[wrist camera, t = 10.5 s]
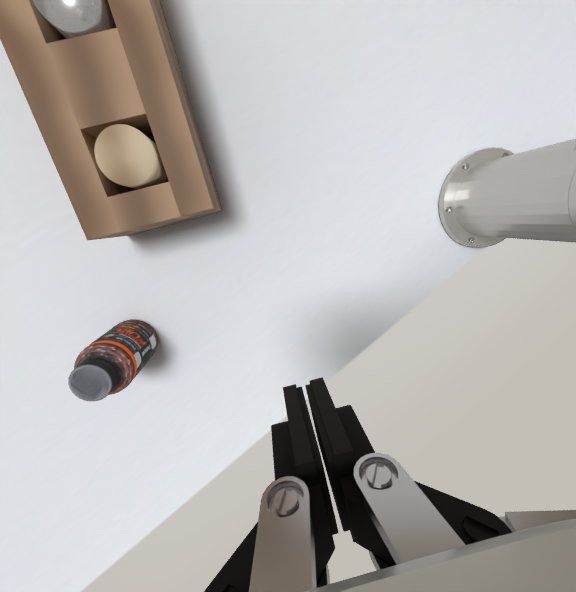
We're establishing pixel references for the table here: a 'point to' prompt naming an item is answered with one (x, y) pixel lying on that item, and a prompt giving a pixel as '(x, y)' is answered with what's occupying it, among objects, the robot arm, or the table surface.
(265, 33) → the table surface
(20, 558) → the table surface
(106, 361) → the supplement bottle
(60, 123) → the walnut block
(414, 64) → the table surface
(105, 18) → the gray peg
